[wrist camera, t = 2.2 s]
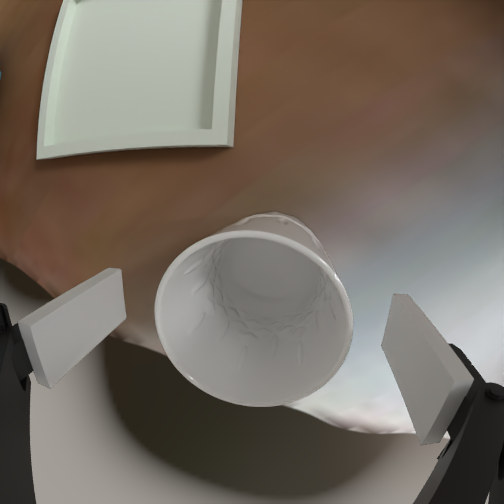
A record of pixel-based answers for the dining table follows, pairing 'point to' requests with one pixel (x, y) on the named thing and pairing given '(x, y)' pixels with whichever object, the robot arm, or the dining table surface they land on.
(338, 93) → the dining table surface
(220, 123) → the tray
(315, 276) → the white cup
